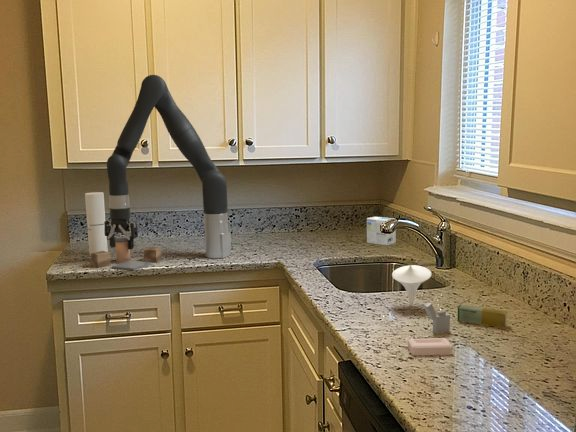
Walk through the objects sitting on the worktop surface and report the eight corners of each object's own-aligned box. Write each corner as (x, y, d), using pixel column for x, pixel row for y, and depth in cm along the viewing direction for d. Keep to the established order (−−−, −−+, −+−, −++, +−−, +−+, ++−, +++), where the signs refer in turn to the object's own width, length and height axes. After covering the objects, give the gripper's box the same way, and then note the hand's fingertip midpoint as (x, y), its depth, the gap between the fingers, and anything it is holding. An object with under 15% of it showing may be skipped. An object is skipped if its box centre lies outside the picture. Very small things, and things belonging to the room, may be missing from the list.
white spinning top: (426, 313, 163) (426, 270, 161) (387, 308, 168) (387, 266, 166) (434, 302, 172) (435, 261, 171) (397, 298, 177) (398, 258, 175)
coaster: (151, 264, 226) (151, 262, 226) (133, 270, 217) (133, 268, 217) (130, 262, 231) (129, 260, 231) (112, 268, 222) (111, 266, 222)
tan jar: (133, 260, 235) (132, 237, 233) (124, 263, 230) (122, 239, 228) (122, 258, 237) (121, 236, 235) (113, 262, 232) (111, 239, 231)
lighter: (445, 329, 151) (446, 298, 150) (450, 331, 149) (450, 300, 148) (422, 334, 148) (423, 302, 147) (427, 336, 146) (427, 304, 145)
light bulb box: (396, 243, 254) (396, 218, 253) (387, 246, 250) (387, 220, 248) (375, 240, 262) (375, 215, 260) (366, 242, 257) (366, 217, 255)
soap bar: (407, 348, 140) (407, 338, 140) (446, 347, 140) (446, 337, 140) (412, 357, 135) (412, 346, 135) (452, 356, 135) (453, 345, 135)
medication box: (456, 321, 157) (456, 307, 156) (459, 318, 159) (459, 303, 158) (505, 328, 151) (505, 313, 150) (507, 325, 153) (507, 310, 153)
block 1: (110, 265, 226) (109, 252, 226) (98, 268, 223) (97, 254, 222) (104, 263, 230) (103, 250, 229) (91, 266, 227) (90, 253, 226)
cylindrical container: (102, 256, 242) (97, 194, 238) (86, 255, 244) (81, 194, 240) (111, 252, 249) (106, 192, 245) (95, 252, 250) (90, 192, 246)
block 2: (161, 259, 234) (161, 247, 233) (156, 262, 229) (155, 250, 228) (149, 259, 235) (148, 247, 234) (144, 262, 230) (143, 249, 229)
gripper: (140, 206, 230) (142, 247, 233) (111, 204, 236) (114, 244, 239) (127, 208, 224) (129, 251, 226) (98, 206, 230) (100, 248, 232)
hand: (121, 248), depth 232 cm, fingers open, 8 cm apart
